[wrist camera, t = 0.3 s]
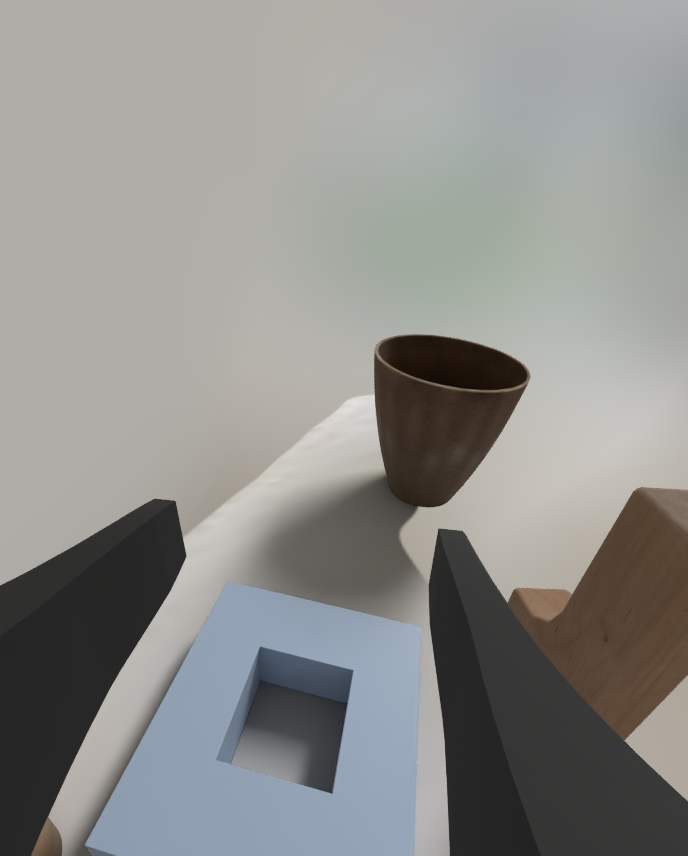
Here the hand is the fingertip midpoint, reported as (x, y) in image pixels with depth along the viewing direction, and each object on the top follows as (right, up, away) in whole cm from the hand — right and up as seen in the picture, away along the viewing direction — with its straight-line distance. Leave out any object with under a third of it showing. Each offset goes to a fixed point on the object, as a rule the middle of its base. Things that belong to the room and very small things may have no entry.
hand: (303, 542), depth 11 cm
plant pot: (+10, -4, +37) cm, 38 cm away
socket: (-2, -16, +13) cm, 21 cm away
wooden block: (+16, -15, +18) cm, 29 cm away
